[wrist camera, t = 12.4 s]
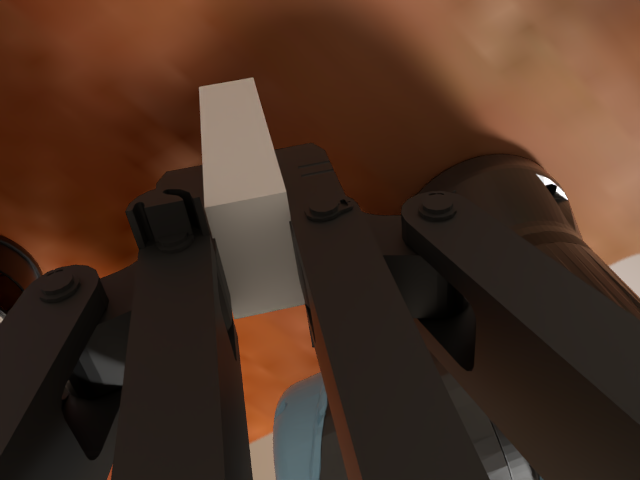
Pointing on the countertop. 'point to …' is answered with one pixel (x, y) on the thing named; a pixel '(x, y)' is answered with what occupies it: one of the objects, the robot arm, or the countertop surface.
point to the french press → (17, 266)
